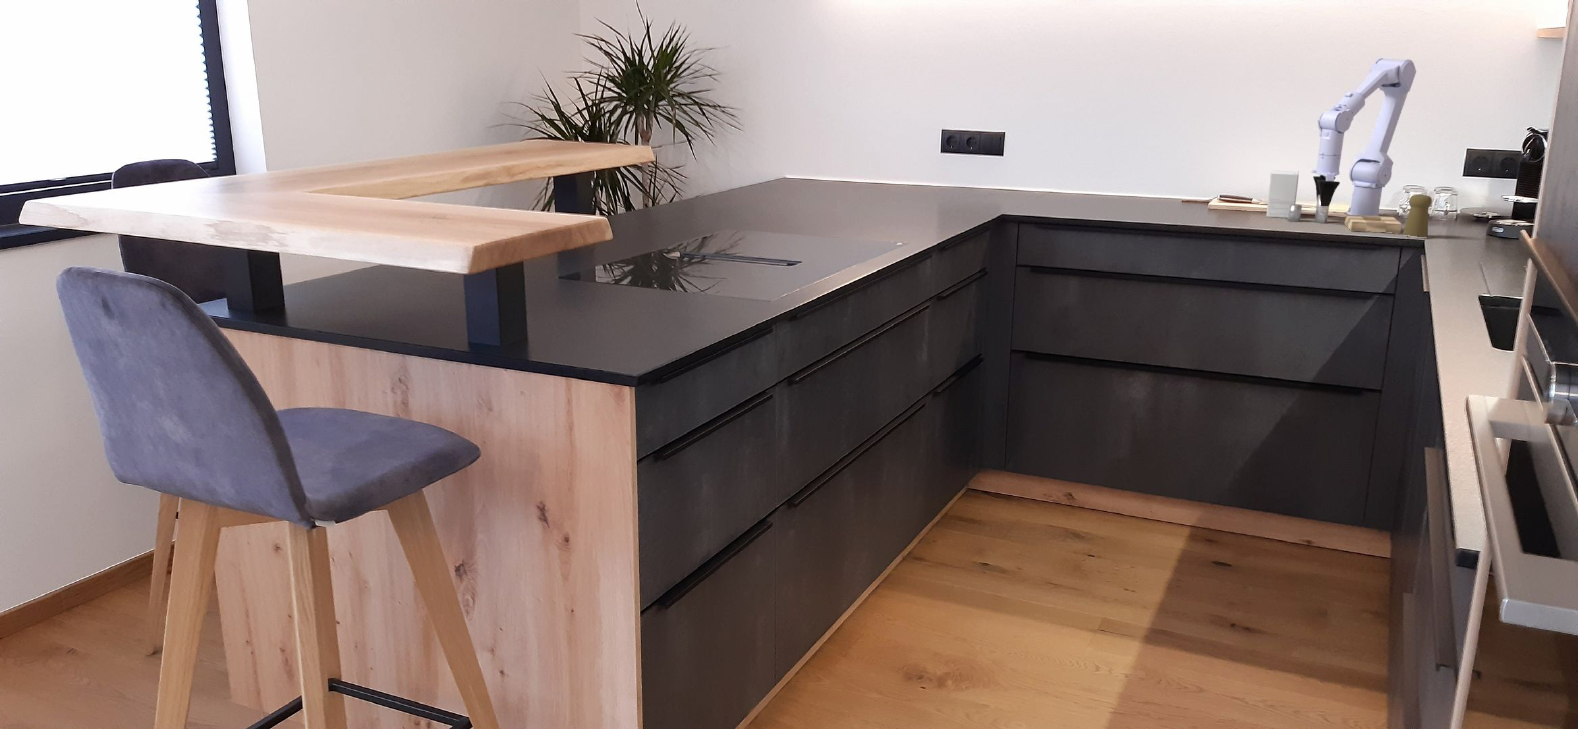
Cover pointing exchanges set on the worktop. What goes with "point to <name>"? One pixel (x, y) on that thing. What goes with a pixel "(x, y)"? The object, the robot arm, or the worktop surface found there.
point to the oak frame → (1372, 223)
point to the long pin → (1321, 212)
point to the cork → (1418, 216)
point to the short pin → (1294, 213)
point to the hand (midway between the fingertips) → (1322, 204)
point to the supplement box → (1282, 193)
